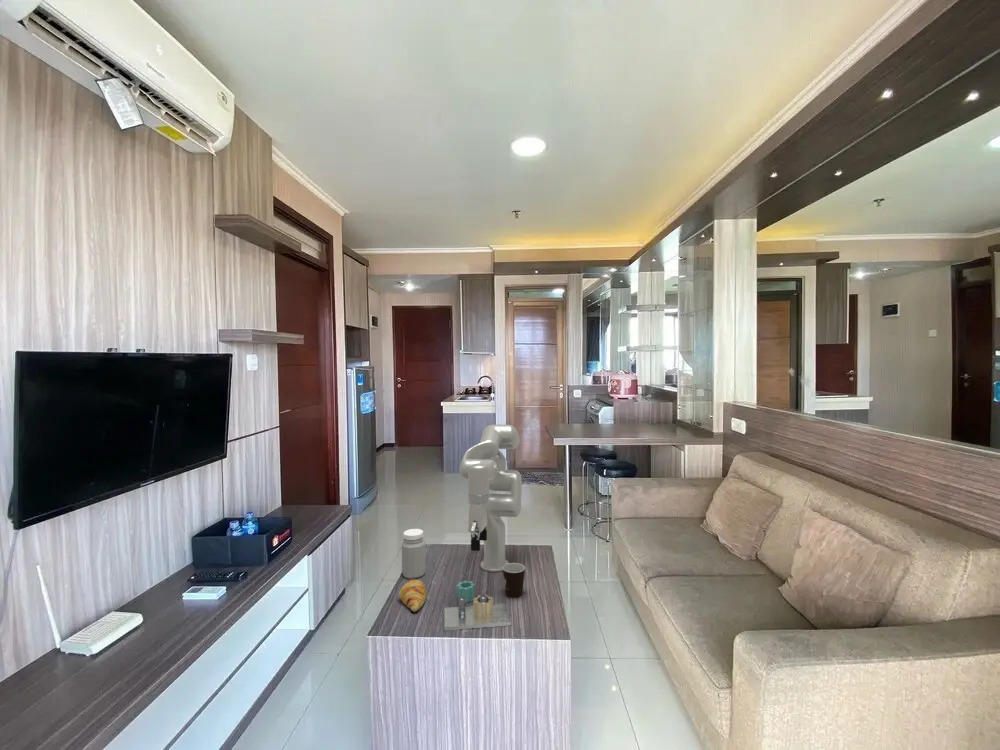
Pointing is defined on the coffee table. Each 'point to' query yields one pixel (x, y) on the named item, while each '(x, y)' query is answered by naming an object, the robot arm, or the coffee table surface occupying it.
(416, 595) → the croissant
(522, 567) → the coffee mug
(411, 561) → the jar
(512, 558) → the coffee table surface
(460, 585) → the gear
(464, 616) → the board
